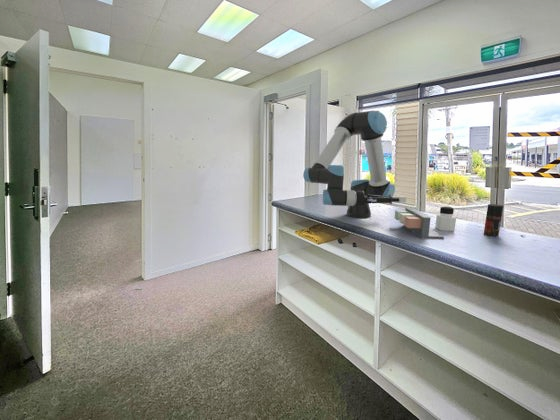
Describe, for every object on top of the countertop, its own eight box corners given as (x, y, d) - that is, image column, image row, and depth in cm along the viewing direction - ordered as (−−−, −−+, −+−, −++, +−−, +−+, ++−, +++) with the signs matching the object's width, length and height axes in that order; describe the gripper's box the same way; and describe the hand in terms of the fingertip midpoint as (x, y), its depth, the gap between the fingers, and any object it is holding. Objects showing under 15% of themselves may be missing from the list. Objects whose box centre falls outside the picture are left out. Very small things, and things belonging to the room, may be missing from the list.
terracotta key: (407, 227, 136) (408, 218, 135) (404, 225, 141) (405, 216, 140) (428, 228, 135) (429, 219, 135) (424, 226, 140) (425, 217, 139)
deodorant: (484, 232, 145) (488, 203, 142) (498, 234, 141) (503, 205, 138) (483, 235, 140) (487, 205, 137) (498, 237, 136) (503, 206, 133)
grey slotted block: (421, 238, 134) (423, 217, 132) (403, 225, 159) (405, 207, 157) (443, 238, 134) (446, 218, 132) (422, 225, 158) (424, 207, 156)
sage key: (397, 220, 152) (397, 211, 151) (394, 218, 156) (395, 210, 155) (415, 220, 151) (416, 212, 150) (412, 218, 156) (413, 210, 155)
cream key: (402, 223, 144) (402, 215, 143) (399, 221, 148) (400, 213, 148) (421, 224, 143) (422, 215, 142) (418, 222, 148) (419, 213, 147)
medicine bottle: (454, 231, 147) (457, 208, 145) (439, 230, 148) (442, 207, 146) (449, 227, 154) (452, 206, 151) (435, 227, 155) (437, 205, 153)
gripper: (352, 203, 145) (400, 205, 143) (356, 208, 132) (409, 210, 130) (353, 189, 143) (401, 190, 141) (357, 192, 131) (411, 193, 129)
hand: (405, 199), depth 136 cm, fingers closed
